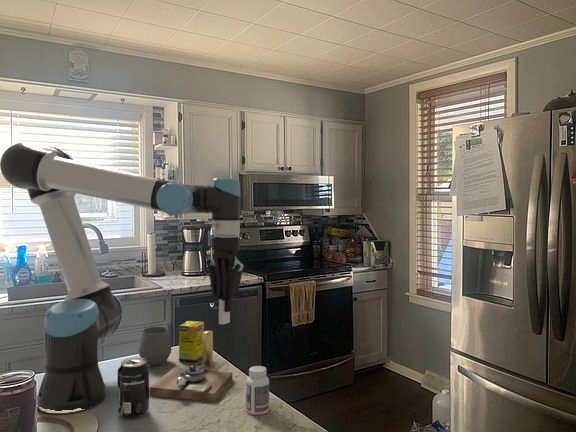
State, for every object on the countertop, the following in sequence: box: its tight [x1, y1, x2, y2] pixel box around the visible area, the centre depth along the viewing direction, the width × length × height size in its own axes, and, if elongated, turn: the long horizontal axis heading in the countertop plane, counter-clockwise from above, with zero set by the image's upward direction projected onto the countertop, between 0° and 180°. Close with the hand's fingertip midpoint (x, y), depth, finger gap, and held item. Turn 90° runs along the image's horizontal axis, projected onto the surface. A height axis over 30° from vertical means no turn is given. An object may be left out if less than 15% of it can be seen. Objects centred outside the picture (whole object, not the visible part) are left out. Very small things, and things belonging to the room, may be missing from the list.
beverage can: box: [117, 357, 150, 420], centre depth 104 cm, size 7×7×12 cm
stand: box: [149, 366, 233, 403], centre depth 120 cm, size 17×14×2 cm
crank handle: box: [176, 330, 214, 388], centre depth 121 cm, size 18×6×10 cm, turn 165°
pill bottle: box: [245, 365, 270, 416], centre depth 107 cm, size 5×5×10 cm
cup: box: [138, 326, 172, 367], centre depth 137 cm, size 10×9×10 cm
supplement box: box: [178, 320, 205, 363], centre depth 141 cm, size 6×6×11 cm
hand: (224, 323), depth 124 cm, fingers closed
